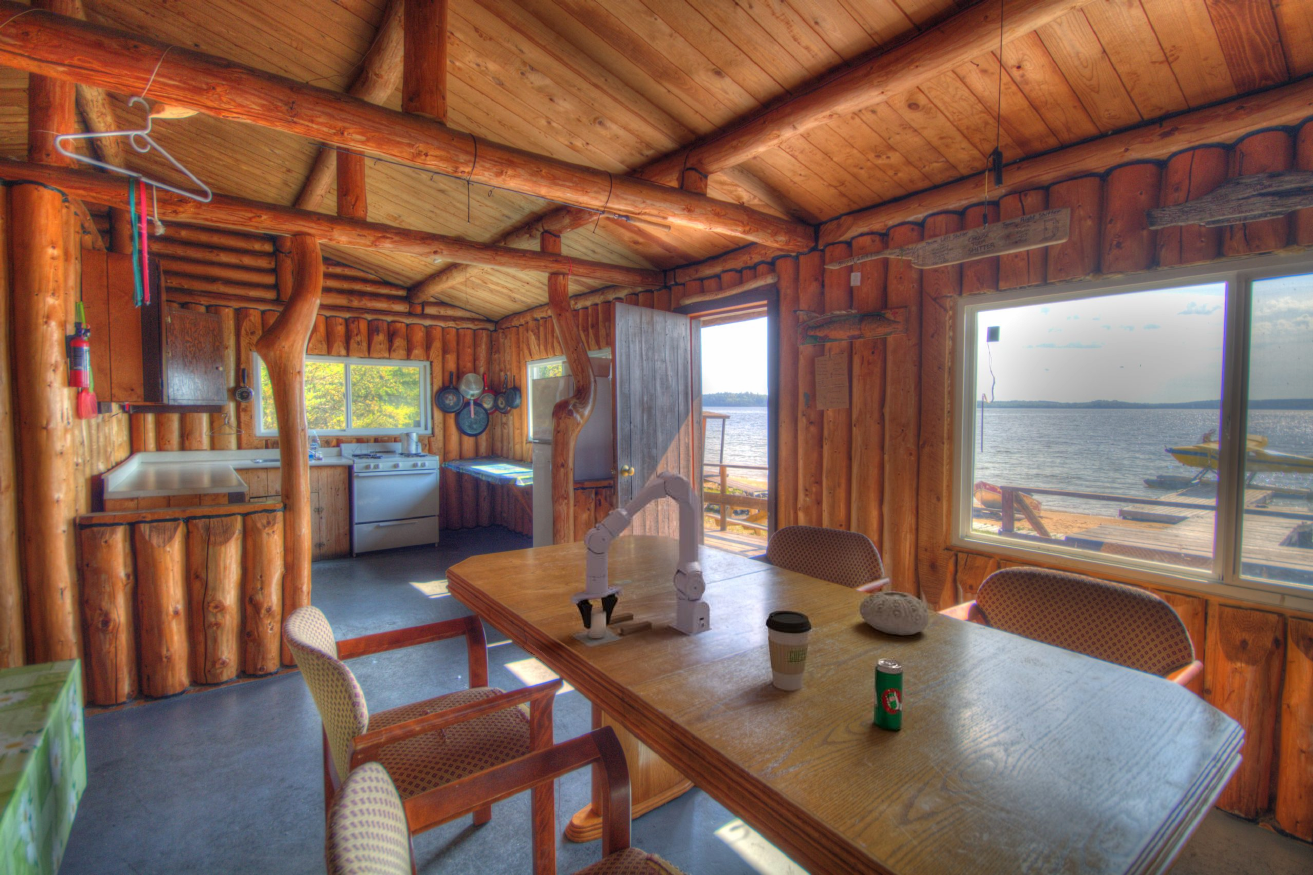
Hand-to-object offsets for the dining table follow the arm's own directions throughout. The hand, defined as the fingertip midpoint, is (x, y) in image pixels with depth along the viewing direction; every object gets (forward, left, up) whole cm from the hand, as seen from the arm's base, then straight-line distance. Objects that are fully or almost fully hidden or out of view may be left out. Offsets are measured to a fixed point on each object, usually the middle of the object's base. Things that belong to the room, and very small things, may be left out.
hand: (596, 625), depth 157 cm
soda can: (-71, -22, -4) cm, 74 cm away
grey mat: (0, 0, -3) cm, 3 cm away
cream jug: (+1, 0, -2) cm, 3 cm away
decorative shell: (-42, -71, -4) cm, 83 cm away
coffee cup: (-48, -20, -4) cm, 52 cm away
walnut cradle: (+2, -11, -3) cm, 12 cm away
